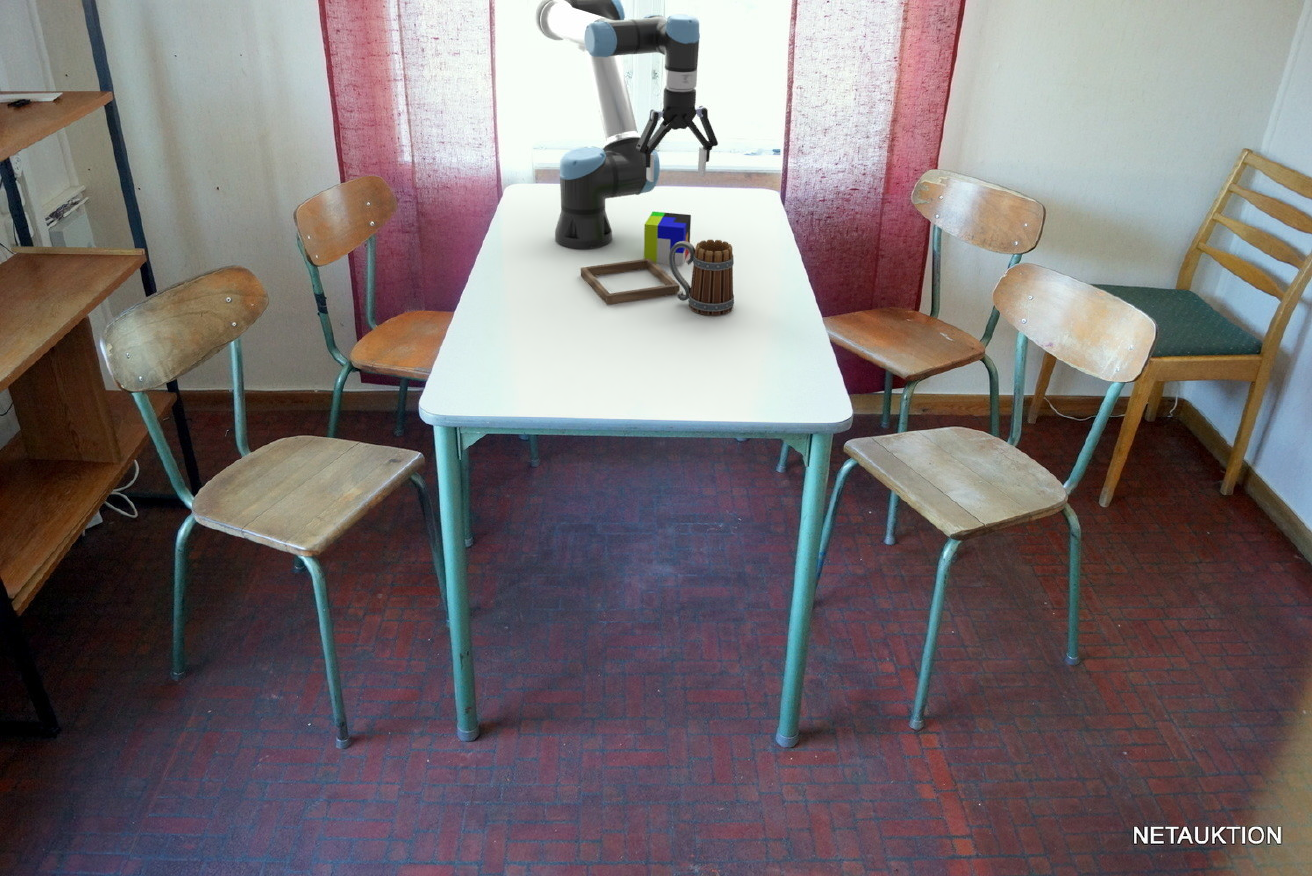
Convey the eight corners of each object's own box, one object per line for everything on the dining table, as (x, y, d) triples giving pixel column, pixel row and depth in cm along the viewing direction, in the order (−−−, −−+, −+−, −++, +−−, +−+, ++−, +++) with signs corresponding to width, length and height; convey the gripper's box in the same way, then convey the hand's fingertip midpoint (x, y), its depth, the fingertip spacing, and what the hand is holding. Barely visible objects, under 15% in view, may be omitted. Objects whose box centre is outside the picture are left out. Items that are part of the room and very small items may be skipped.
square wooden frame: (580, 276, 251) (580, 267, 250) (649, 266, 257) (649, 258, 256) (607, 305, 236) (607, 296, 235) (679, 294, 243) (679, 285, 242)
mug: (738, 302, 239) (743, 241, 232) (726, 319, 231) (730, 257, 223) (675, 292, 244) (677, 232, 236) (661, 309, 235) (662, 247, 227)
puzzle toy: (682, 265, 258) (684, 228, 253) (643, 262, 260) (644, 224, 255) (689, 252, 267) (690, 214, 261) (651, 248, 268) (652, 211, 263)
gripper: (635, 95, 229) (633, 187, 240) (735, 88, 237) (729, 177, 249) (623, 87, 234) (622, 177, 246) (721, 80, 243) (715, 168, 254)
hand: (675, 178), depth 247 cm, fingers open, 13 cm apart
